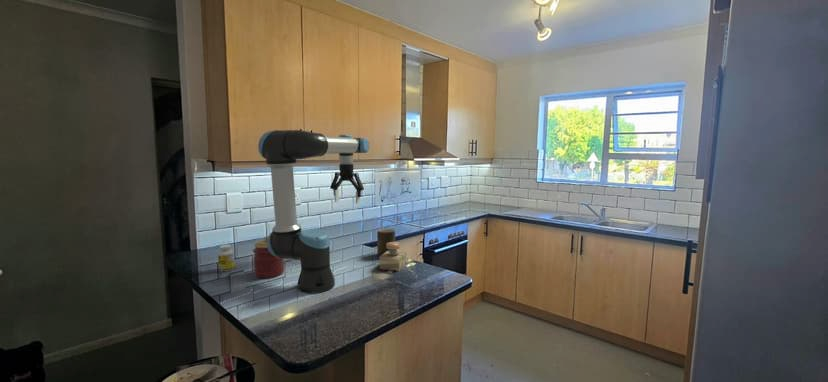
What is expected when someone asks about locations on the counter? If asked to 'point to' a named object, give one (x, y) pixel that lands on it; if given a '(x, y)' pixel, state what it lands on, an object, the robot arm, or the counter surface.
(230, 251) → the pill bottle
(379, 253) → the pillar candle
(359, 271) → the counter surface
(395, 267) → the housing
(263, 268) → the canister
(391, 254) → the knob
